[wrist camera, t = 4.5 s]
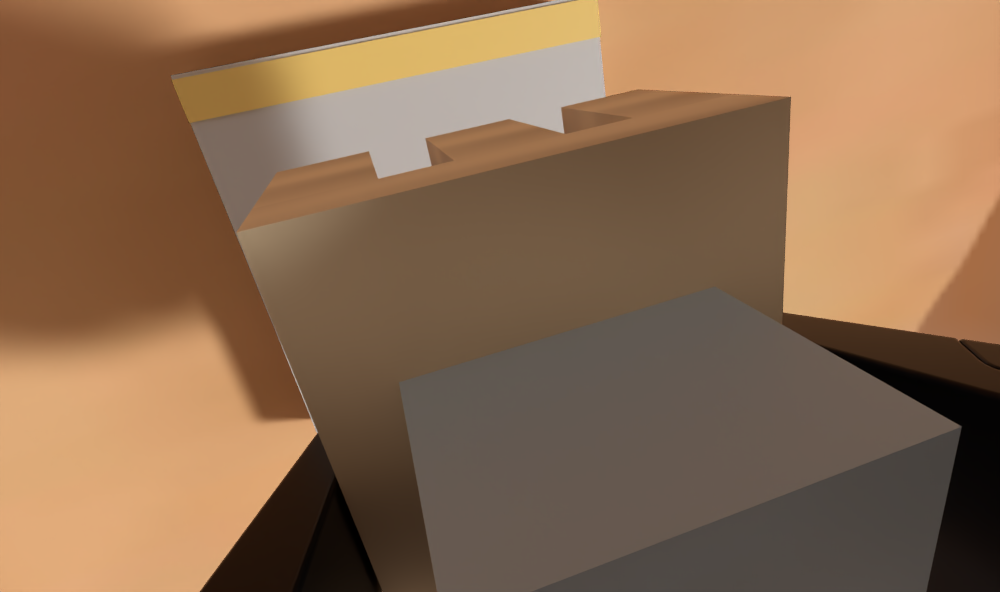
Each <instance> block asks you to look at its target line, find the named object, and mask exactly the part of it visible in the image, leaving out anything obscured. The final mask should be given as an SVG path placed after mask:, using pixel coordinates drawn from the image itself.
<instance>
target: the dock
mask: <svg viewBox="0 0 1000 592" xmlns="http://www.w3.org/2000/svg"><path fill="white" fill-rule="evenodd" d="M600 37H601V29H600V19H599V9H598V0H556V1H550V2H545V3H540V4H535V5H530V6H525V7H520V8H515V9H509V10H504V11H499V12H494V13H489V14H484V15H479V16H473V17H468V18H463V19H458V20H453V21H448V22H443V23H438V24H432V25H427V26H422V27H417V28H412V29H407V30H402V31H396V32H391V33H386V34H381V35H376V36H371V37H366V38H361V39H355V40H350V41H345V42H340V43H335V44H330V45H325V46H319V47H314V48H309V49H304V50H299V51H294V52H289V53H284V54H278V55H273V56H268V57H263V58H258V59H253V60H248V61H243V62H237V63H232V64H227V65H222V66H217V67H212V68H207V69H201V70H196V71H191V72H186V73H181V74H176V75H171V78H172V83H173V85H174V88H175V90H176V93H177V95H178V98H179V100H180V102H181V105H182V107H183V110H184V112H185V115H186V117H187V119H188V122H189V123H190V124H191V126H192V129H193V131H194V134H195V136H196V139H197V141H198V144H199V146H200V148H201V151H202V153H203V156H204V158H205V161H206V163H207V166H208V168H209V170H210V173H211V175H212V178H213V180H214V183H215V185H216V187H217V190H218V192H219V195H220V197H221V200H222V202H223V205H224V207H225V209H226V212H227V214H228V217H229V219H230V222H231V224H232V227H233V229H234V231H235V234H236V236H237V239H238V241H239V244H240V246H241V249H242V251H243V253H244V250H243V248H242V245H241V243H240V240H239V238H238V235H237V233H236V232H237V230H238V229H239V228H240V226H241V225H242V223H243V222H244V220H245V219H246V217H247V216H248V214H249V213H250V211H251V210H252V208H253V207H254V205H255V204H256V202H257V201H258V200H259V198H260V197H261V195H262V194H263V192H264V191H265V189H266V188H267V186H268V185H269V183H270V182H271V180H272V179H273V177H274V176H275V174H276V173H277V172H280V171H285V170H289V169H294V168H298V167H302V166H307V165H311V164H315V163H320V162H324V161H328V160H333V159H337V158H342V157H346V156H350V155H355V154H359V153H363V152H368V151H369V153H370V156H371V159H372V162H373V165H374V168H375V171H376V174H377V177H378V179H379V178H383V177H388V176H392V175H396V174H400V173H404V172H409V171H413V170H417V169H421V168H425V167H430V166H432V165H431V161H430V157H429V152H428V148H427V144H426V140H425V138H429V137H433V136H437V135H442V134H446V133H451V132H455V131H459V130H464V129H468V128H472V127H477V126H481V125H485V124H490V123H494V122H499V121H503V120H507V119H511V120H515V121H518V122H522V123H526V124H530V125H534V126H537V127H541V128H545V129H549V130H553V131H556V132H560V133H564V127H563V120H562V112H561V107H564V106H568V105H573V104H577V103H581V102H586V101H590V100H595V99H599V98H603V97H606V96H605V86H604V76H603V66H602V55H601V45H600ZM244 256H245V258H246V255H245V253H244ZM246 261H247V263H248V266H249V268H250V271H251V273H252V275H253V272H252V270H251V267H250V265H249V262H248V260H247V258H246ZM253 278H254V280H255V277H254V275H253ZM255 283H256V285H257V282H256V280H255ZM257 288H258V290H259V293H260V295H261V297H262V294H261V292H260V289H259V287H258V285H257ZM262 300H263V302H264V299H263V297H262ZM264 305H265V307H266V304H265V302H264ZM266 310H267V312H268V315H269V317H270V319H271V316H270V314H269V311H268V309H267V307H266ZM271 322H272V324H273V321H272V319H271ZM273 327H274V329H275V326H274V324H273ZM275 332H276V334H277V331H276V329H275ZM277 337H278V339H279V341H280V338H279V336H278V334H277ZM280 344H281V346H282V343H281V341H280ZM282 349H283V351H284V348H283V346H282ZM284 354H285V356H286V353H285V351H284ZM286 358H287V356H286ZM287 361H288V358H287ZM288 363H289V361H288ZM289 366H290V368H291V365H290V363H289ZM291 371H292V373H293V370H292V368H291ZM293 376H294V378H295V375H294V373H293ZM295 380H296V378H295ZM296 383H297V380H296ZM297 385H298V383H297ZM298 388H299V390H300V387H299V385H298ZM300 393H301V395H302V392H301V390H300ZM302 398H303V400H304V397H303V395H302ZM304 402H305V400H304ZM305 405H306V402H305ZM306 407H307V405H306ZM307 410H308V407H307ZM308 412H309V410H308ZM309 415H310V417H311V414H310V412H309ZM311 420H312V422H313V419H312V417H311ZM313 424H314V422H313ZM314 427H315V424H314ZM315 429H316V427H315ZM316 432H317V429H316ZM317 433H318V432H317Z"/></svg>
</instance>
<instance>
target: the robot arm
mask: <svg viewBox="0 0 1000 592" xmlns="http://www.w3.org/2000/svg"><path fill="white" fill-rule="evenodd" d="M782 325H784V326H785V327H787V328H789V329H791V330H792V331H794V332H796V333H798V334H799V335H801V336H803V337H805V338H807V339H808V340H810V341H812V342H814V343H815V344H817V345H819V346H821V347H822V348H824V349H826V350H828V351H829V352H831V353H833V354H835V355H836V356H838V357H840V358H842V359H843V360H845V361H847V362H849V363H851V364H852V365H854V366H856V367H858V368H859V369H861V370H863V371H865V372H866V373H868V374H870V375H872V376H873V377H875V378H877V379H879V380H880V381H882V382H884V383H886V384H888V385H889V386H891V387H893V388H895V389H896V390H898V391H900V392H902V393H903V394H905V395H907V396H909V397H910V398H912V399H914V400H916V401H917V402H919V403H921V404H923V405H925V406H926V407H928V408H930V409H932V410H933V411H935V412H937V413H939V414H940V415H942V416H944V417H946V418H947V419H949V420H951V421H953V422H954V423H956V424H958V425H960V426H962V428H961V432H960V437H959V442H958V446H957V451H956V455H955V460H954V465H953V469H952V474H951V479H950V483H949V488H948V493H947V497H946V502H945V507H944V511H943V516H942V521H941V525H940V530H939V535H938V539H937V544H936V549H935V553H934V558H933V563H932V567H931V572H930V577H929V581H928V586H927V591H926V592H1000V345H999V344H992V343H985V342H979V341H972V340H965V339H962V340H960V341H958V340H957V339H956V338H951V337H944V336H937V335H931V334H924V333H917V332H910V331H904V330H897V329H890V328H883V327H877V326H870V325H863V324H856V323H850V322H843V321H836V320H829V319H823V318H816V317H809V316H802V315H796V314H789V313H783V316H782ZM200 592H382V589H381V586H380V584H379V581H378V579H377V576H376V574H375V571H374V569H373V566H372V564H371V562H370V559H369V557H368V554H367V552H366V549H365V547H364V544H363V542H362V539H361V537H360V535H359V532H358V530H357V527H356V525H355V522H354V520H353V517H352V515H351V513H350V510H349V508H348V505H347V503H346V500H345V498H344V495H343V493H342V490H341V488H340V486H339V483H338V481H337V478H336V476H335V473H334V471H333V468H332V466H331V463H330V461H329V459H328V456H327V454H326V451H325V449H324V446H323V444H322V441H321V439H320V437H319V434H318V433H317V435H316V436H315V437H314V439H313V440H312V441H311V443H310V444H309V445H308V447H307V448H306V449H305V451H304V452H303V453H302V455H301V456H300V457H299V459H298V460H297V461H296V463H295V464H294V465H293V467H292V468H291V470H290V471H289V472H288V474H287V475H286V476H285V478H284V479H283V480H282V482H281V483H280V484H279V486H278V487H277V488H276V490H275V491H274V492H273V494H272V495H271V496H270V498H269V499H268V500H267V502H266V503H265V504H264V506H263V507H262V509H261V510H260V511H259V513H258V514H257V515H256V517H255V518H254V519H253V521H252V522H251V523H250V525H249V526H248V527H247V529H246V530H245V531H244V533H243V534H242V535H241V537H240V538H239V539H238V541H237V542H236V544H235V545H234V546H233V548H232V549H231V550H230V552H229V553H228V554H227V556H226V557H225V558H224V560H223V561H222V562H221V564H220V565H219V566H218V568H217V569H216V570H215V572H214V573H213V574H212V576H211V577H210V579H209V580H208V581H207V583H206V584H205V585H204V587H203V588H202V589H201V591H200Z"/></svg>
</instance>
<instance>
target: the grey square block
mask: <svg viewBox="0 0 1000 592" xmlns="http://www.w3.org/2000/svg"><path fill="white" fill-rule="evenodd" d="M399 386H400V391H401V397H402V402H403V408H404V413H405V419H406V424H407V430H408V435H409V441H410V446H411V452H412V457H413V463H414V468H415V474H416V479H417V485H418V490H419V496H420V501H421V507H422V512H423V517H424V523H425V528H426V534H427V539H428V545H429V550H430V556H431V561H432V567H433V572H434V578H435V583H436V589H437V592H926V591H927V586H928V581H929V577H930V572H931V567H932V563H933V558H934V553H935V549H936V544H937V539H938V535H939V530H940V525H941V521H942V516H943V511H944V507H945V502H946V497H947V493H948V488H949V483H950V479H951V474H952V469H953V465H954V460H955V455H956V451H957V446H958V442H959V437H960V432H961V428H962V426H960V425H958V424H956V423H954V422H953V421H951V420H949V419H947V418H946V417H944V416H942V415H940V414H939V413H937V412H935V411H933V410H932V409H930V408H928V407H926V406H925V405H923V404H921V403H919V402H917V401H916V400H914V399H912V398H910V397H909V396H907V395H905V394H903V393H902V392H900V391H898V390H896V389H895V388H893V387H891V386H889V385H888V384H886V383H884V382H882V381H880V380H879V379H877V378H875V377H873V376H872V375H870V374H868V373H866V372H865V371H863V370H861V369H859V368H858V367H856V366H854V365H852V364H851V363H849V362H847V361H845V360H843V359H842V358H840V357H838V356H836V355H835V354H833V353H831V352H829V351H828V350H826V349H824V348H822V347H821V346H819V345H817V344H815V343H814V342H812V341H810V340H808V339H807V338H805V337H803V336H801V335H799V334H798V333H796V332H794V331H792V330H791V329H789V328H787V327H785V326H784V325H782V324H780V323H778V322H777V321H775V320H773V319H771V318H770V317H768V316H766V315H764V314H762V313H761V312H759V311H757V310H755V309H754V308H752V307H750V306H748V305H747V304H745V303H743V302H741V301H740V300H738V299H736V298H734V297H733V296H731V295H729V294H727V293H725V292H724V291H722V290H720V289H718V288H717V287H712V288H709V289H705V290H702V291H699V292H695V293H692V294H689V295H685V296H682V297H679V298H676V299H672V300H669V301H666V302H662V303H659V304H656V305H652V306H649V307H646V308H642V309H639V310H636V311H633V312H629V313H626V314H623V315H619V316H616V317H613V318H609V319H606V320H603V321H600V322H596V323H593V324H590V325H586V326H583V327H580V328H576V329H573V330H570V331H567V332H563V333H560V334H557V335H553V336H550V337H547V338H543V339H540V340H537V341H534V342H530V343H527V344H524V345H520V346H517V347H514V348H510V349H507V350H504V351H501V352H497V353H494V354H491V355H487V356H484V357H481V358H477V359H474V360H471V361H467V362H464V363H461V364H458V365H454V366H451V367H448V368H444V369H441V370H438V371H434V372H431V373H428V374H425V375H421V376H418V377H415V378H411V379H408V380H405V381H401V382H399Z"/></svg>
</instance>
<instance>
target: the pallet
mask: <svg viewBox="0 0 1000 592" xmlns="http://www.w3.org/2000/svg"><path fill="white" fill-rule="evenodd" d="M790 106H791V97H782V96H761V95H740V94H720V93H699V92H678V91H658V90H634V91H629V92H625V93H621V94H616V95H612V96H608V97H603V98H599V99H595V100H590V101H586V102H581V103H577V104H573V105H568V106H564V107H561V112H562V120H563V127H564V133H560V132H556V131H553V130H549V129H545V128H541V127H537V126H534V125H530V124H526V123H522V122H518V121H515V120H511V119H507V120H503V121H499V122H494V123H490V124H485V125H481V126H477V127H472V128H468V129H464V130H459V131H455V132H451V133H446V134H442V135H437V136H433V137H429V138H425V140H426V144H427V148H428V152H429V157H430V161H431V165H432V166H430V167H425V168H421V169H417V170H413V171H409V172H404V173H400V174H396V175H392V176H388V177H383V178H379V179H378V177H377V174H376V171H375V168H374V165H373V162H372V159H371V156H370V153H369V151H368V152H363V153H359V154H355V155H350V156H346V157H342V158H337V159H333V160H328V161H324V162H320V163H315V164H311V165H307V166H302V167H298V168H294V169H289V170H285V171H280V172H277V173H276V174H275V176H274V177H273V179H272V180H271V182H270V183H269V185H268V186H267V188H266V189H265V191H264V192H263V194H262V195H261V197H260V198H259V200H258V201H257V202H256V204H255V205H254V207H253V208H252V210H251V211H250V213H249V214H248V216H247V217H246V219H245V220H244V222H243V223H242V225H241V226H240V228H239V229H238V230H237V232H236V233H237V235H238V238H239V240H240V243H241V245H242V248H243V250H244V253H245V255H246V258H247V260H248V262H249V265H250V267H251V270H252V272H253V275H254V277H255V280H256V282H257V285H258V287H259V289H260V292H261V294H262V297H263V299H264V302H265V304H266V307H267V309H268V311H269V314H270V316H271V319H272V321H273V324H274V326H275V329H276V331H277V334H278V336H279V338H280V341H281V343H282V346H283V348H284V351H285V353H286V356H287V358H288V361H289V363H290V365H291V368H292V370H293V373H294V375H295V378H296V380H297V383H298V385H299V387H300V390H301V392H302V395H303V397H304V400H305V402H306V405H307V407H308V410H309V412H310V414H311V417H312V419H313V422H314V424H315V427H316V429H317V432H318V434H319V437H320V439H321V441H322V444H323V446H324V449H325V451H326V454H327V456H328V459H329V461H330V463H331V466H332V468H333V471H334V473H335V476H336V478H337V481H338V483H339V486H340V488H341V490H342V493H343V495H344V498H345V500H346V503H347V505H348V508H349V510H350V513H351V515H352V517H353V520H354V522H355V525H356V527H357V530H358V532H359V535H360V537H361V539H362V542H363V544H364V547H365V549H366V552H367V554H368V557H369V559H370V562H371V564H372V566H373V569H374V571H375V574H376V576H377V579H378V581H379V584H380V586H381V589H382V591H383V592H437V589H436V583H435V578H434V572H433V567H432V561H431V556H430V550H429V545H428V539H427V534H426V528H425V523H424V517H423V512H422V507H421V501H420V496H419V490H418V485H417V479H416V474H415V468H414V463H413V457H412V452H411V446H410V441H409V435H408V430H407V424H406V419H405V413H404V408H403V402H402V397H401V391H400V386H399V382H401V381H405V380H408V379H411V378H415V377H418V376H421V375H425V374H428V373H431V372H434V371H438V370H441V369H444V368H448V367H451V366H454V365H458V364H461V363H464V362H467V361H471V360H474V359H477V358H481V357H484V356H487V355H491V354H494V353H497V352H501V351H504V350H507V349H510V348H514V347H517V346H520V345H524V344H527V343H530V342H534V341H537V340H540V339H543V338H547V337H550V336H553V335H557V334H560V333H563V332H567V331H570V330H573V329H576V328H580V327H583V326H586V325H590V324H593V323H596V322H600V321H603V320H606V319H609V318H613V317H616V316H619V315H623V314H626V313H629V312H633V311H636V310H639V309H642V308H646V307H649V306H652V305H656V304H659V303H662V302H666V301H669V300H672V299H676V298H679V297H682V296H685V295H689V294H692V293H695V292H699V291H702V290H705V289H709V288H712V287H717V288H718V289H720V290H722V291H724V292H725V293H727V294H729V295H731V296H733V297H734V298H736V299H738V300H740V301H741V302H743V303H745V304H747V305H748V306H750V307H752V308H754V309H755V310H757V311H759V312H761V313H762V314H764V315H766V316H768V317H770V318H771V319H773V320H775V321H777V322H778V323H780V324H782V316H783V290H784V263H785V237H786V211H787V184H788V158H789V132H790Z"/></svg>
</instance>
